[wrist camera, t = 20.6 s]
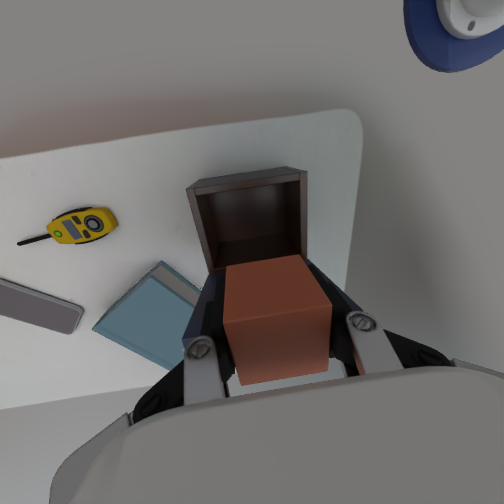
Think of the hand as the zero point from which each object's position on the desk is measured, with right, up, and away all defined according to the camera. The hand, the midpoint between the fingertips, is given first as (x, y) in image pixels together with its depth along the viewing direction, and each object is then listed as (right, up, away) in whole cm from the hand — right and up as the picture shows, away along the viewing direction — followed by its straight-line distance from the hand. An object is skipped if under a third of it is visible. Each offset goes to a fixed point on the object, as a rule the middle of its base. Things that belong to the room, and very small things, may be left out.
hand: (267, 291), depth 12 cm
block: (0, 0, 0) cm, 0 cm away
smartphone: (-40, -7, +23) cm, 47 cm away
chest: (-1, +9, +18) cm, 20 cm away
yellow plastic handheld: (-29, +6, +17) cm, 34 cm away
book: (-15, -11, +27) cm, 33 cm away
